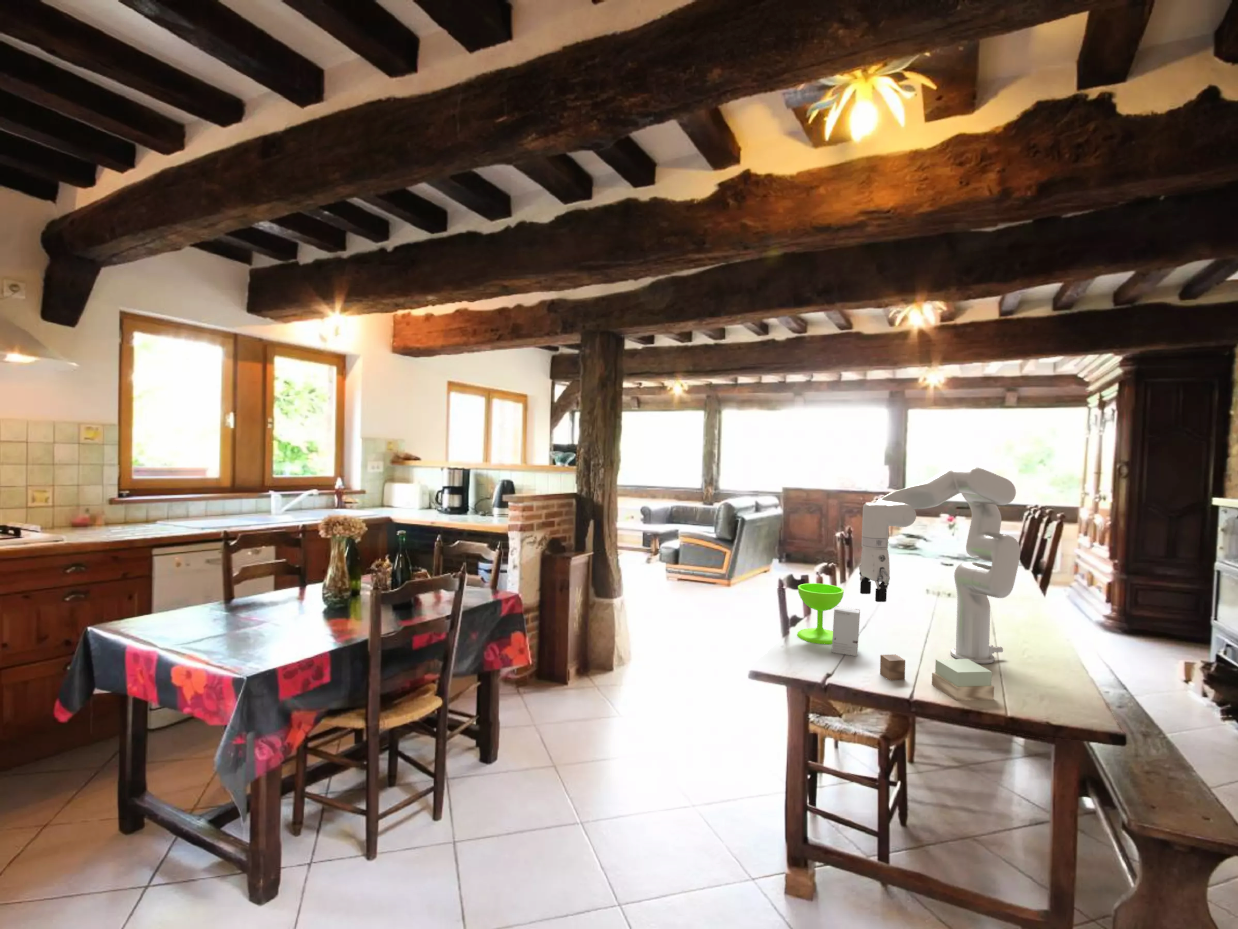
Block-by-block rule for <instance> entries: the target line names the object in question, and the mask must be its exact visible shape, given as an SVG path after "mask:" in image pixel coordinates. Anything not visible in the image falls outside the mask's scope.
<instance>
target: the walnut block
mask: <svg viewBox="0 0 1238 929" xmlns="http://www.w3.org/2000/svg"><path fill="white" fill-rule="evenodd" d="M879 657H880V660H879V662H880V663H879V664H880V665H879V674H880V676H882V677H884V678H885V679H886V678H887V679H886V680H888V681H905V680H906V679H905V678H906V659H904V658H902V657H901V656H900V655H898V654H880V656H879Z"/></svg>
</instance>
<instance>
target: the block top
mask: <svg viewBox="0 0 1238 929" xmlns="http://www.w3.org/2000/svg"><path fill="white" fill-rule="evenodd" d="M934 669H935V670H934V671H935V672H934V673H936V674H938V675H939V676H941V677H943V678H944V679H946V680H947V681H949V682H951V683H952V684H954V685H956V686H957V687H964V686H991V685H992V680H993V679H992V677H993V672H992V670H990V669H988V668H987V667H984V666H982V665H980V664H979V663H975V662H973V661H971V660H969V659H957V658H955V659H954V658H950V659H949V658H948V659H946V658H945V659H944V658H943V659H935V668H934ZM992 686H993V685H992Z"/></svg>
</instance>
